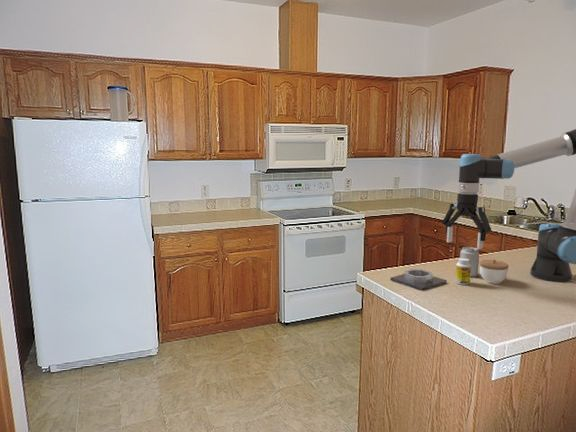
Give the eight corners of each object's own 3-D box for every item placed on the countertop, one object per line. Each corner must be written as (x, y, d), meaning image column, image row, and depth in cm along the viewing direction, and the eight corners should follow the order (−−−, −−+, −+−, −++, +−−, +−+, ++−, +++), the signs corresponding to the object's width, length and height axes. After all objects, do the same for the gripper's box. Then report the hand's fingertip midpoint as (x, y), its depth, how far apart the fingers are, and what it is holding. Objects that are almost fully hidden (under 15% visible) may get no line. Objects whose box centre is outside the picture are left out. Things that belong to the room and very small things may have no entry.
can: (479, 278, 180) (481, 250, 178) (460, 277, 182) (462, 250, 180) (475, 272, 187) (477, 246, 185) (457, 272, 189) (459, 245, 187)
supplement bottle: (460, 285, 170) (462, 261, 169) (452, 281, 176) (453, 257, 174) (472, 284, 172) (474, 260, 170) (464, 280, 177) (465, 257, 175)
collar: (446, 282, 174) (447, 274, 174) (421, 290, 165) (422, 281, 165) (415, 273, 187) (415, 265, 187) (390, 280, 178) (390, 271, 178)
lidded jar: (474, 281, 175) (476, 260, 174) (483, 275, 183) (485, 254, 182) (502, 287, 168) (504, 264, 167) (510, 281, 176) (512, 259, 174)
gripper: (435, 190, 176) (432, 240, 179) (493, 197, 155) (488, 252, 159) (446, 189, 180) (443, 238, 183) (503, 195, 160) (499, 250, 163)
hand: (464, 245), depth 171 cm, fingers open, 13 cm apart
